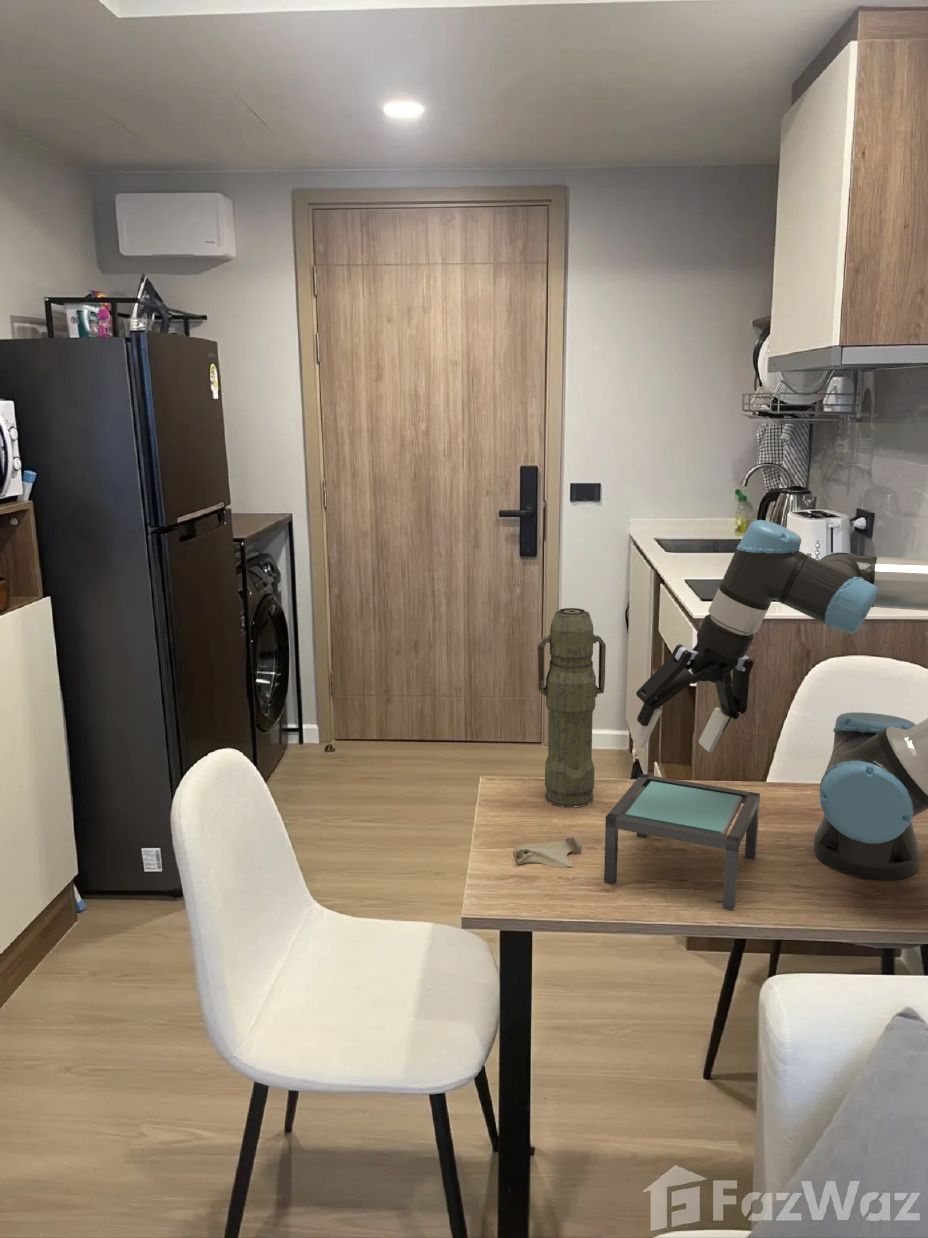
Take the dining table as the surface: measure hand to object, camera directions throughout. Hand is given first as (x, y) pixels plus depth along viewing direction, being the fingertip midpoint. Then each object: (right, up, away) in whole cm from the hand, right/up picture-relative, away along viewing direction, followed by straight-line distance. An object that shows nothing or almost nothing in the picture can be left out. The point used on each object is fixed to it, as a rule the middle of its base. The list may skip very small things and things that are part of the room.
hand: (671, 745), depth 141 cm
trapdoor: (+2, -10, -2) cm, 10 cm away
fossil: (-19, -19, +5) cm, 27 cm away
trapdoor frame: (+1, -19, 0) cm, 19 cm away
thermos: (-13, -14, +27) cm, 33 cm away
